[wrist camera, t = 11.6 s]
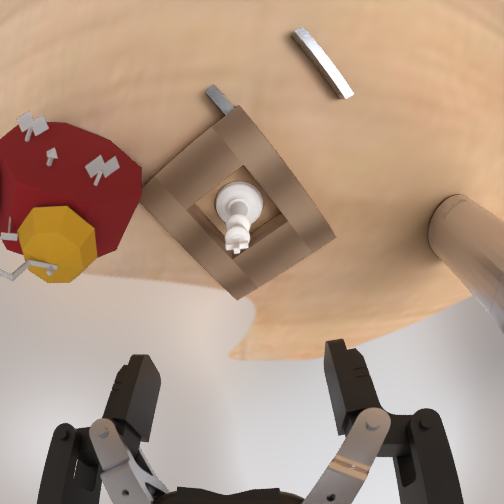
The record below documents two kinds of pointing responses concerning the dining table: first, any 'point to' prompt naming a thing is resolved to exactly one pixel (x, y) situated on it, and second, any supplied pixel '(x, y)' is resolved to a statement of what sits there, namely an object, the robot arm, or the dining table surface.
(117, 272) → the dining table surface
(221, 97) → the stand rails
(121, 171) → the alarm clock
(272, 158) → the block
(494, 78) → the dining table surface
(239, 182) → the chess piece
